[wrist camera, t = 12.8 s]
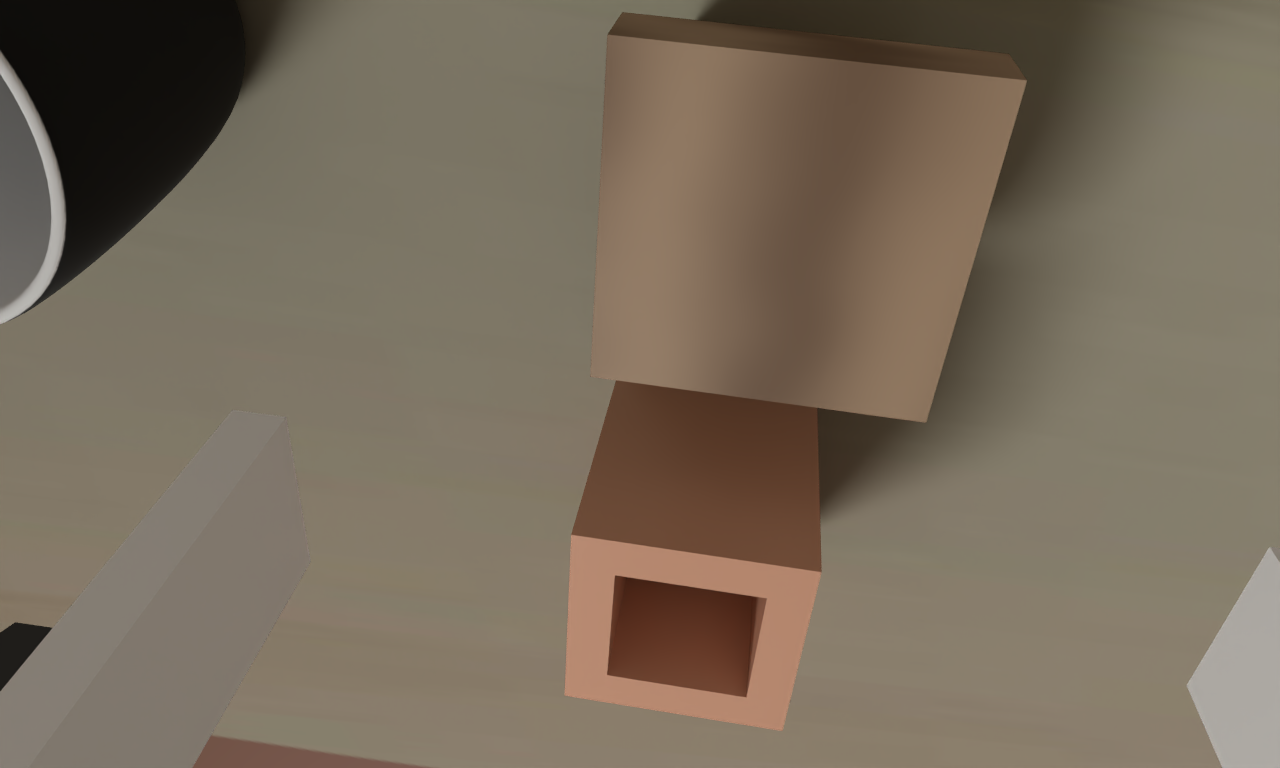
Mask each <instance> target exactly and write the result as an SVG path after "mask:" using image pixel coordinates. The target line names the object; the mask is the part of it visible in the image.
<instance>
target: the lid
mask: <svg viewBox="0 0 1280 768" xmlns="http://www.w3.org/2000/svg"><path fill="white" fill-rule="evenodd" d="M1026 83H1027V79H1026V78H1025V77H1024V75H1023V74H1022V72H1021V71H1020V69H1019V68H1018V66H1017V65H1016V63H1015V62H1014V60H1013V59H1012V57H1011V56H1010V55H1009V54H1006V53H997V52H987V51H978V50H969V49H959V48H950V47H941V46H932V45H922V44H913V43H904V42H894V41H885V40H876V39H866V38H857V37H848V36H839V35H829V34H820V33H811V32H801V31H792V30H783V29H773V28H764V27H755V26H746V25H736V24H727V23H718V22H708V21H699V20H690V19H680V18H671V17H662V16H653V15H643V14H634V13H625V12H622V14H621V15H620V17H619V18H618V20H617V21H616V23H615V24H614V26H613V27H612V29H611V30H610V32H609V33H608V35H607V54H606V74H605V94H604V114H603V134H602V154H601V174H600V194H599V214H598V234H597V254H596V274H595V294H594V314H593V334H592V354H591V374H590V377H596V378H603V379H610V380H618V381H625V382H632V383H640V384H647V385H654V386H662V387H669V388H676V389H684V390H691V391H698V392H705V393H713V394H720V395H727V396H735V397H742V398H749V399H757V400H764V401H771V402H779V403H786V404H793V405H800V406H808V407H815V408H822V409H830V410H837V411H844V412H852V413H859V414H866V415H874V416H881V417H888V418H895V419H903V420H910V421H917V422H925V423H926V421H927V418H928V415H929V411H930V408H931V405H932V401H933V398H934V394H935V391H936V388H937V384H938V381H939V377H940V374H941V371H942V367H943V364H944V361H945V357H946V354H947V350H948V347H949V344H950V340H951V337H952V334H953V330H954V327H955V323H956V320H957V317H958V313H959V310H960V306H961V303H962V300H963V296H964V293H965V290H966V286H967V283H968V279H969V276H970V273H971V269H972V266H973V262H974V259H975V256H976V252H977V249H978V246H979V242H980V239H981V235H982V232H983V229H984V225H985V222H986V218H987V215H988V212H989V208H990V205H991V202H992V198H993V195H994V191H995V188H996V185H997V181H998V178H999V174H1000V171H1001V168H1002V164H1003V161H1004V158H1005V154H1006V151H1007V147H1008V144H1009V141H1010V137H1011V134H1012V130H1013V127H1014V124H1015V120H1016V117H1017V114H1018V110H1019V107H1020V103H1021V100H1022V97H1023V93H1024V90H1025V86H1026Z"/></svg>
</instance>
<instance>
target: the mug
mask: <svg viewBox="0 0 1280 768" xmlns="http://www.w3.org/2000/svg"><path fill="white" fill-rule="evenodd" d="M244 65H245V40H244V32H243V27H242V22H241V18H240V14H239V11H238V8H237V5H236V2H235V0H0V324H2V323H5V322H7V321H10V320H12V319H14V318H16V317H18V316H20V315H22V314H23V313H25V312H27V311H29V310H30V309H32V308H33V307H35V306H36V305H38V304H39V303H41V302H42V301H44V300H45V299H47V298H48V297H49V296H51V295H52V294H54V293H55V292H56V291H58V290H59V289H60V288H62V287H63V286H64V285H66V284H67V283H68V282H70V281H71V280H72V279H74V278H75V277H76V276H77V275H79V274H80V273H81V272H82V271H84V270H85V269H86V268H87V267H89V266H90V265H91V264H92V263H93V262H95V261H96V260H97V259H98V258H99V257H101V256H102V255H103V254H104V253H105V252H106V251H108V250H109V249H110V248H111V247H112V246H113V245H115V244H116V243H117V242H118V241H119V240H120V239H121V238H122V237H124V236H125V235H126V234H127V233H128V232H129V231H130V230H131V229H132V228H133V227H135V226H136V225H137V224H138V223H139V222H140V221H141V220H142V219H143V218H144V217H145V216H146V215H147V214H148V213H149V212H150V211H151V210H152V209H153V208H154V207H155V206H156V205H157V204H158V203H159V202H160V201H161V200H162V199H163V198H164V197H165V196H166V195H167V194H169V193H170V192H171V191H172V190H173V188H174V187H175V186H176V185H177V184H178V183H179V182H180V181H181V180H182V179H183V178H184V177H185V176H186V175H187V173H188V172H189V171H190V170H191V169H192V168H193V167H194V165H195V164H196V163H197V162H198V161H199V159H200V158H201V157H202V156H203V154H204V153H205V152H206V151H207V149H208V148H209V147H210V145H211V144H212V143H213V141H214V140H215V139H216V137H217V136H218V134H219V133H220V131H221V130H222V128H223V126H224V125H225V123H226V121H227V120H228V118H229V116H230V114H231V112H232V110H233V108H234V105H235V103H236V101H237V98H238V95H239V92H240V88H241V84H242V79H243V73H244Z"/></svg>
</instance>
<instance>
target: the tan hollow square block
mask: <svg viewBox="0 0 1280 768" xmlns="http://www.w3.org/2000/svg"><path fill="white" fill-rule="evenodd" d="M820 576H821V534H820V495H819V456H818V417H817V408H815V407H808V406H800V405H793V404H786V403H779V402H771V401H764V400H757V399H749V398H742V397H735V396H727V395H720V394H713V393H705V392H698V391H691V390H684V389H676V388H669V387H662V386H654V385H647V384H640V383H632V382H625V381H618V380H616V383H615V386H614V390H613V393H612V397H611V400H610V404H609V407H608V410H607V414H606V417H605V421H604V424H603V428H602V431H601V434H600V438H599V441H598V445H597V448H596V452H595V455H594V459H593V462H592V465H591V469H590V472H589V476H588V479H587V483H586V486H585V490H584V493H583V496H582V500H581V503H580V507H579V510H578V514H577V517H576V520H575V524H574V527H573V531H572V534H571V555H570V580H569V604H568V628H567V653H566V677H565V696H571V697H577V698H583V699H589V700H595V701H602V702H608V703H614V704H620V705H626V706H632V707H638V708H645V709H651V710H657V711H663V712H669V713H675V714H682V715H688V716H694V717H700V718H706V719H712V720H718V721H725V722H731V723H737V724H743V725H749V726H755V727H761V728H768V729H774V730H780V731H783V726H784V722H785V718H786V714H787V710H788V706H789V702H790V698H791V694H792V690H793V686H794V682H795V678H796V674H797V670H798V666H799V662H800V657H801V653H802V649H803V645H804V641H805V637H806V633H807V629H808V625H809V621H810V617H811V613H812V609H813V605H814V601H815V597H816V592H817V588H818V584H819V580H820Z"/></svg>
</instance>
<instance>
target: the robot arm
mask: <svg viewBox="0 0 1280 768" xmlns="http://www.w3.org/2000/svg"><path fill="white" fill-rule="evenodd" d="M310 562H311V560H310V554H309V548H308V542H307V536H306V531H305V525H304V519H303V513H302V507H301V501H300V495H299V489H298V483H297V477H296V471H295V465H294V459H293V453H292V448H291V442H290V436H289V430H288V424H287V418H286V417H284V416H276V415H269V414H261V413H254V412H246V411H238V410H232V411H231V412H230V413H229V415H228V416H227V417H226V418H225V420H224V421H223V422H222V423H221V424H220V426H219V427H218V428H217V429H216V430H215V432H214V433H213V434H212V435H211V437H210V438H209V439H208V440H207V441H206V443H205V444H204V445H203V446H202V447H201V449H200V450H199V451H198V452H197V454H196V455H195V456H194V457H193V458H192V460H191V461H190V462H189V463H188V464H187V466H186V467H185V468H184V469H183V471H182V472H181V473H180V474H179V475H178V477H177V478H176V479H175V480H174V481H173V483H172V484H171V485H170V486H169V487H168V489H167V490H166V491H165V492H164V494H163V495H162V496H161V497H160V498H159V500H158V501H157V502H156V503H155V504H154V506H153V507H152V508H151V509H150V511H149V512H148V513H147V514H146V515H145V517H144V518H143V519H142V520H141V521H140V523H139V524H138V525H137V526H136V528H135V529H134V530H133V531H132V532H131V534H130V535H129V536H128V537H127V538H126V540H125V541H124V542H123V543H122V545H121V546H120V547H119V548H118V549H117V551H116V552H115V553H114V554H113V555H112V557H111V558H110V559H109V560H108V561H107V563H106V564H105V565H104V566H103V568H102V569H101V570H100V571H99V572H98V574H97V575H96V576H95V577H94V578H93V580H92V581H91V582H90V583H89V585H88V586H87V587H86V588H85V589H84V591H83V592H82V593H81V594H80V595H79V597H78V598H77V599H76V600H75V602H74V603H73V604H72V605H71V606H70V608H69V609H68V610H67V611H66V612H65V614H64V615H63V616H62V617H61V619H60V620H59V621H58V622H57V623H56V625H55V626H54V627H53V628H50V627H43V626H36V625H29V624H23V623H16V622H15V623H14V624H12V625H11V626H9V627H8V628H6V629H5V630H3V631H2V632H0V768H192V767H193V765H194V764H195V762H196V760H197V758H198V757H199V755H200V753H201V751H202V750H203V748H204V746H205V745H206V743H207V741H208V739H209V738H210V736H211V734H212V732H213V731H214V729H215V727H216V725H217V724H218V722H219V720H220V719H221V717H222V715H223V713H224V712H225V710H226V708H227V706H228V705H229V703H230V701H231V699H232V698H233V696H234V694H235V692H236V691H237V689H238V687H239V685H240V684H241V682H242V680H243V679H244V677H245V675H246V673H247V672H248V670H249V668H250V666H251V665H252V663H253V661H254V659H255V658H256V656H257V654H258V652H259V651H260V649H261V647H262V645H263V644H264V642H265V640H266V639H267V637H268V635H269V633H270V632H271V630H272V628H273V626H274V625H275V623H276V621H277V619H278V618H279V616H280V614H281V612H282V611H283V609H284V607H285V605H286V604H287V602H288V600H289V599H290V597H291V595H292V593H293V592H294V590H295V588H296V586H297V585H298V583H299V581H300V579H301V578H302V576H303V574H304V572H305V571H306V569H307V567H308V565H309V564H310ZM1187 687H1188V690H1189V692H1190V694H1191V697H1192V699H1193V701H1194V703H1195V706H1196V708H1197V710H1198V713H1199V715H1200V717H1201V720H1202V722H1203V724H1204V727H1205V729H1206V731H1207V734H1208V736H1209V738H1210V740H1211V743H1212V745H1213V747H1214V750H1215V752H1216V754H1217V757H1218V759H1219V761H1220V764H1221V766H1222V768H1280V548H1276V547H1269V549H1268V550H1267V552H1266V554H1265V555H1264V557H1263V559H1262V560H1261V562H1260V564H1259V565H1258V567H1257V569H1256V570H1255V572H1254V574H1253V576H1252V577H1251V579H1250V581H1249V582H1248V584H1247V586H1246V587H1245V589H1244V591H1243V592H1242V594H1241V596H1240V597H1239V599H1238V601H1237V602H1236V604H1235V606H1234V607H1233V609H1232V611H1231V612H1230V614H1229V616H1228V617H1227V619H1226V621H1225V622H1224V624H1223V626H1222V627H1221V629H1220V631H1219V632H1218V634H1217V636H1216V637H1215V639H1214V641H1213V642H1212V644H1211V646H1210V647H1209V649H1208V651H1207V652H1206V654H1205V656H1204V657H1203V659H1202V661H1201V662H1200V664H1199V666H1198V667H1197V669H1196V671H1195V672H1194V674H1193V676H1192V677H1191V679H1190V681H1189V682H1188V684H1187Z"/></svg>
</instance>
